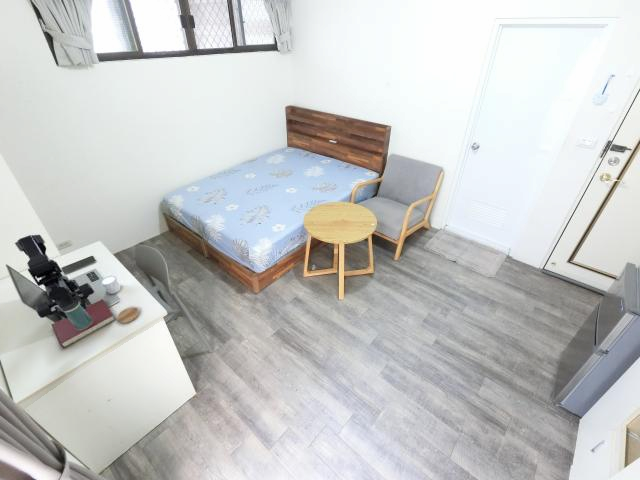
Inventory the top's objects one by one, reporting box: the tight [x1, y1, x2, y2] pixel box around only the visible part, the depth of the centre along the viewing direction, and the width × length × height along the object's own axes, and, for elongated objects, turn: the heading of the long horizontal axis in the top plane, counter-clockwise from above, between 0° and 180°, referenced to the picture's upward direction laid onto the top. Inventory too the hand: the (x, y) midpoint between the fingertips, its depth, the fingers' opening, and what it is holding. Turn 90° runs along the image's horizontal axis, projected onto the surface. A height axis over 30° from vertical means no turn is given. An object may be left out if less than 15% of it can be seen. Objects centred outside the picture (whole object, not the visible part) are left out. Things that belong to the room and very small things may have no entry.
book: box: [51, 298, 117, 349], centre depth 139 cm, size 15×21×3 cm
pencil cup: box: [60, 300, 93, 330], centre depth 129 cm, size 13×7×13 cm
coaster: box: [117, 307, 140, 324], centre depth 144 cm, size 9×9×1 cm
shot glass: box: [100, 275, 121, 295], centre depth 155 cm, size 7×7×7 cm
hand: (76, 313), depth 129 cm, fingers closed on pencil cup, 6 cm apart
